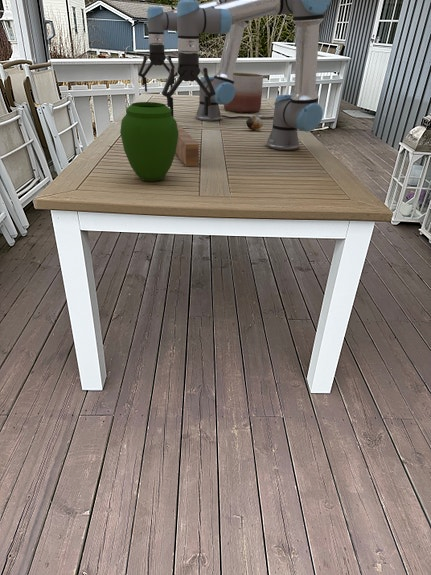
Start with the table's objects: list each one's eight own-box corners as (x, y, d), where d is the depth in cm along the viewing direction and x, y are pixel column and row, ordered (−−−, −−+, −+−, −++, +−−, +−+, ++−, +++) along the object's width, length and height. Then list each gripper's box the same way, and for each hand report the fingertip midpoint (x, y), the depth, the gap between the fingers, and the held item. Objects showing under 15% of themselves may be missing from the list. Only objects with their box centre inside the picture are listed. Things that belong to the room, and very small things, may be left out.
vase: (131, 189, 135) (125, 110, 122) (118, 172, 150) (112, 100, 137) (186, 184, 142) (187, 109, 129) (169, 168, 157) (167, 99, 144)
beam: (152, 124, 229) (152, 108, 225) (161, 124, 230) (161, 108, 226) (185, 166, 161) (185, 144, 157) (198, 165, 163) (198, 144, 158)
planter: (264, 113, 274) (268, 77, 262) (227, 113, 270) (229, 75, 258) (255, 107, 295) (258, 73, 283) (220, 106, 291) (222, 72, 279)
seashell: (261, 129, 230) (262, 114, 225) (263, 131, 225) (265, 115, 221) (244, 128, 228) (245, 113, 224) (246, 131, 224) (247, 115, 219)
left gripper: (132, 44, 197) (135, 92, 209) (182, 44, 203) (183, 91, 215) (130, 43, 203) (134, 90, 215) (179, 44, 209) (180, 89, 221)
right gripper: (155, 52, 141) (158, 118, 152) (224, 53, 147) (222, 116, 158) (152, 51, 147) (155, 114, 158) (218, 52, 153) (217, 112, 165)
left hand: (158, 91), depth 215 cm, fingers open, 13 cm apart
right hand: (189, 115), depth 158 cm, fingers open, 13 cm apart
